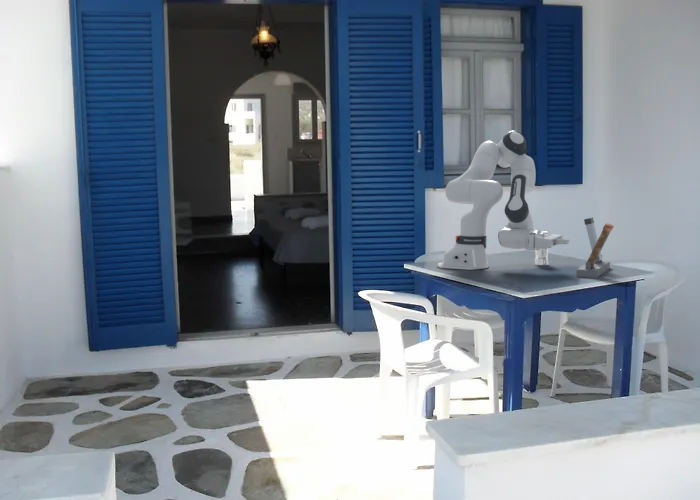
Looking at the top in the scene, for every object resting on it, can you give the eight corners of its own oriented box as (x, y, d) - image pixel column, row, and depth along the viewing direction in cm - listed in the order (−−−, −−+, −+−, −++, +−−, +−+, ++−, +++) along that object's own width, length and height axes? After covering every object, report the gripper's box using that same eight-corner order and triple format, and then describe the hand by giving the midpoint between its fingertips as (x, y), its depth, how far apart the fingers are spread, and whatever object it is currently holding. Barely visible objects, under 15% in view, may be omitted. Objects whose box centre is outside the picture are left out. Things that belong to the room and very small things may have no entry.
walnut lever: (584, 266, 307) (605, 224, 302) (586, 264, 312) (607, 222, 306) (590, 269, 306) (611, 227, 300) (593, 267, 311) (613, 225, 305)
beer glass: (549, 265, 336) (550, 232, 334) (533, 265, 337) (534, 232, 335) (548, 263, 343) (549, 231, 341) (533, 263, 344) (534, 230, 342)
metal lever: (594, 263, 323) (583, 219, 323) (596, 261, 328) (586, 218, 328) (600, 261, 322) (590, 218, 322) (603, 260, 326) (592, 217, 326)
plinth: (576, 276, 306) (576, 262, 305) (591, 266, 332) (591, 253, 332) (596, 278, 302) (597, 263, 302) (609, 268, 328) (610, 254, 328)
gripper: (541, 244, 328) (573, 246, 322) (528, 250, 311) (562, 252, 304) (542, 230, 327) (574, 231, 321) (528, 235, 310) (562, 236, 303)
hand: (568, 241), depth 312 cm, fingers closed
